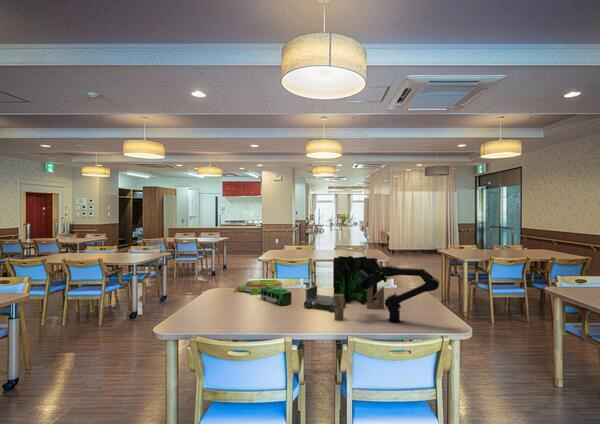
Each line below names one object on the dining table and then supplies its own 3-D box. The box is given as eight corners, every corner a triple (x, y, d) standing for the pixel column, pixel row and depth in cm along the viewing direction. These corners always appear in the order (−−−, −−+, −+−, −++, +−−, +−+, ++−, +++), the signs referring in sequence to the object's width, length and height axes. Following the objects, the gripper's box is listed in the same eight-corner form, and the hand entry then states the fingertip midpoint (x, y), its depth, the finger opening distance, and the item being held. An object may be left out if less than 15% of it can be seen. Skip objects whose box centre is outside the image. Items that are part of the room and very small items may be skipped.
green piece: (235, 288, 300) (235, 279, 300) (281, 287, 303) (281, 278, 303) (232, 296, 271) (232, 286, 271) (282, 295, 274) (282, 285, 274)
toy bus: (273, 297, 266) (273, 283, 266) (292, 305, 243) (292, 290, 243) (260, 299, 260) (260, 285, 260) (277, 307, 237) (277, 292, 237)
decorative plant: (352, 306, 239) (352, 261, 239) (326, 297, 265) (326, 256, 265) (384, 301, 254) (384, 258, 254) (357, 293, 279) (357, 254, 280)
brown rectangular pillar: (343, 317, 213) (343, 294, 213) (343, 320, 208) (343, 296, 208) (334, 317, 213) (334, 293, 213) (334, 319, 208) (334, 295, 208)
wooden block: (383, 309, 232) (384, 281, 232) (367, 308, 233) (367, 281, 233) (383, 307, 236) (383, 280, 236) (366, 307, 237) (366, 280, 237)
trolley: (346, 306, 238) (346, 288, 238) (336, 312, 223) (336, 293, 223) (315, 302, 249) (315, 285, 249) (303, 308, 234) (303, 289, 235)
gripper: (371, 265, 222) (351, 277, 227) (362, 269, 205) (341, 282, 211) (381, 281, 219) (360, 293, 225) (373, 286, 202) (351, 299, 208)
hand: (353, 291), depth 217 cm, fingers open, 9 cm apart
